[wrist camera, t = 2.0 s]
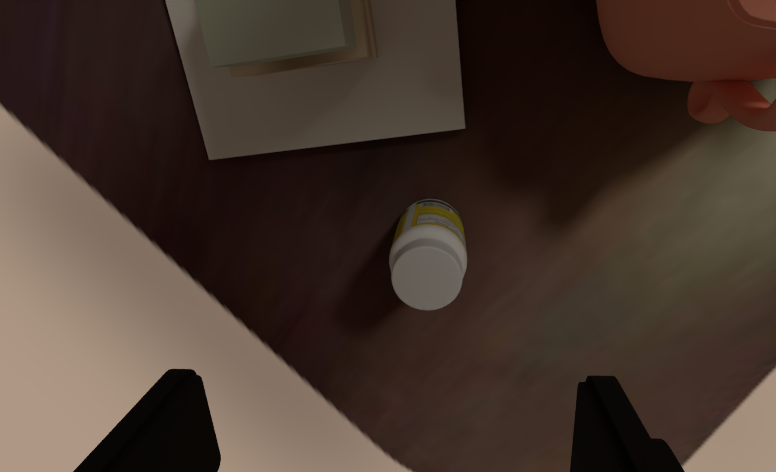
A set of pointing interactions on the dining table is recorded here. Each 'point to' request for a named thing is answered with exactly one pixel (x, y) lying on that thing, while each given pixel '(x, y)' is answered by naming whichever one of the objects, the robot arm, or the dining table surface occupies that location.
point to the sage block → (273, 29)
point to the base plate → (331, 86)
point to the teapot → (700, 51)
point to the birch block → (362, 52)
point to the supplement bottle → (428, 255)
